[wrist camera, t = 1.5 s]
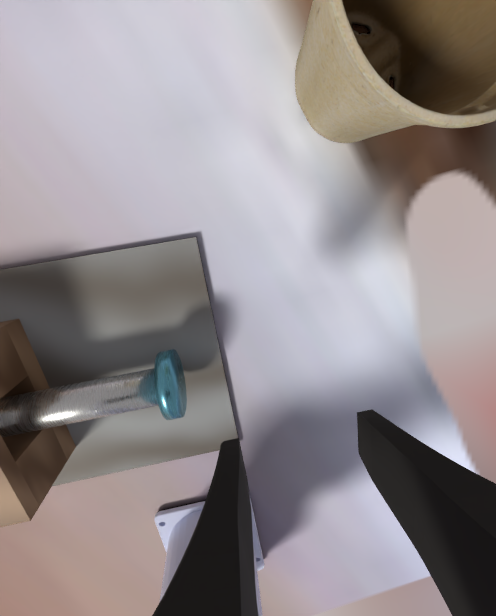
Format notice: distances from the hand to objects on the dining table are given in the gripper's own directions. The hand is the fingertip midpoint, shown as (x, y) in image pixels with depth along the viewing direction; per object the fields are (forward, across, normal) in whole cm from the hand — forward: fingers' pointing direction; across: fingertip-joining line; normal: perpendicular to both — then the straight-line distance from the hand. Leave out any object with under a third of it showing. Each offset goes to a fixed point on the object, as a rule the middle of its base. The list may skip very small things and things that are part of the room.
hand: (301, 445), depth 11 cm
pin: (+9, +12, 0) cm, 14 cm away
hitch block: (+9, +14, 0) cm, 17 cm away
